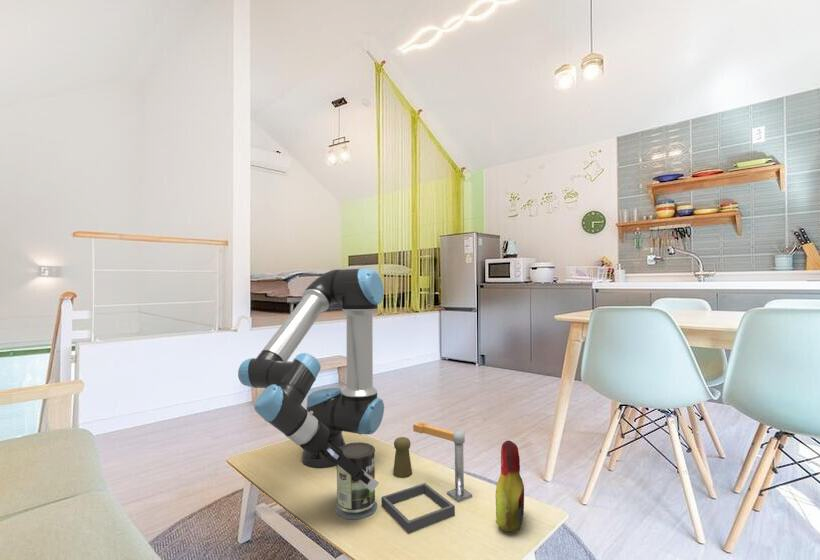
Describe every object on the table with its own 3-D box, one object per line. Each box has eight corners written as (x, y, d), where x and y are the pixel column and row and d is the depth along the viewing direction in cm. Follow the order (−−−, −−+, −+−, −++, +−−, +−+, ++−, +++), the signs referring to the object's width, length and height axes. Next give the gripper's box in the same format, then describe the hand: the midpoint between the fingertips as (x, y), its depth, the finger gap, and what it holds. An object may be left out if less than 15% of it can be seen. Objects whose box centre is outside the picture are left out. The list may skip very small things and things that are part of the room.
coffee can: (379, 493, 112) (379, 443, 112) (369, 514, 102) (369, 459, 102) (344, 490, 114) (343, 440, 114) (330, 511, 104) (330, 456, 104)
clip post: (447, 494, 114) (446, 441, 114) (461, 489, 117) (460, 438, 117) (458, 502, 110) (457, 448, 110) (472, 497, 113) (471, 444, 113)
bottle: (506, 507, 107) (505, 432, 107) (530, 514, 104) (529, 437, 104) (490, 532, 97) (489, 448, 97) (517, 540, 94) (516, 454, 94)
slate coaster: (329, 503, 110) (329, 502, 110) (366, 492, 116) (366, 491, 116) (344, 524, 101) (344, 523, 101) (384, 511, 106) (384, 510, 106)
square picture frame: (381, 506, 109) (381, 496, 109) (425, 491, 116) (425, 482, 116) (408, 533, 97) (407, 523, 97) (454, 515, 104) (454, 505, 104)
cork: (394, 478, 124) (393, 443, 124) (391, 469, 130) (391, 435, 130) (413, 477, 125) (413, 441, 125) (410, 468, 131) (410, 434, 131)
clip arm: (419, 428, 124) (419, 419, 124) (466, 441, 114) (466, 431, 114) (413, 431, 122) (413, 422, 122) (460, 444, 111) (460, 435, 111)
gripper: (334, 434, 93) (394, 483, 101) (305, 408, 113) (358, 451, 121) (312, 462, 91) (376, 511, 99) (286, 431, 110) (341, 474, 118)
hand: (366, 478), depth 110 cm, fingers closed on coffee can, 10 cm apart
